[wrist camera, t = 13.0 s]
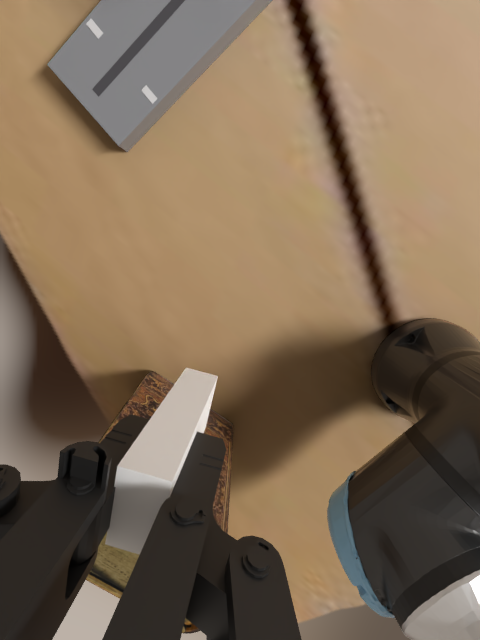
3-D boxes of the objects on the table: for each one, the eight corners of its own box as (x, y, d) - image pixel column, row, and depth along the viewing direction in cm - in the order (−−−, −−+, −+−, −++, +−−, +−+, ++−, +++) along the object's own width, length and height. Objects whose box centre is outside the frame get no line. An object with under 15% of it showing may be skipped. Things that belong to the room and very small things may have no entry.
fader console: (127, 152, 41) (118, 145, 38) (61, 77, 39) (46, 64, 36) (300, -30, 36) (305, -54, 33) (235, -126, 34) (234, -160, 31)
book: (239, 427, 51) (233, 602, 27) (218, 451, 52) (195, 640, 28) (151, 368, 49) (57, 500, 24) (131, 395, 50) (23, 546, 25)
